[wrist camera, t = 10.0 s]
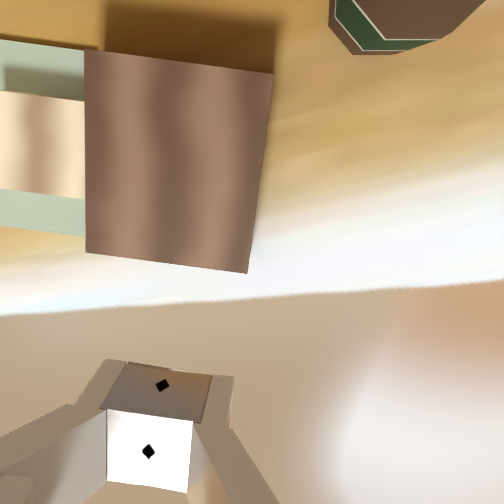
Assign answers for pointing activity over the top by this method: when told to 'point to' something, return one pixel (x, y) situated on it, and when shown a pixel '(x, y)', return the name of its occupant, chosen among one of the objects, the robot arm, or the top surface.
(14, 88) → the rubber mat
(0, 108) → the birch tile
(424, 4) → the beer bottle
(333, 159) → the top surface
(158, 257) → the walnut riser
